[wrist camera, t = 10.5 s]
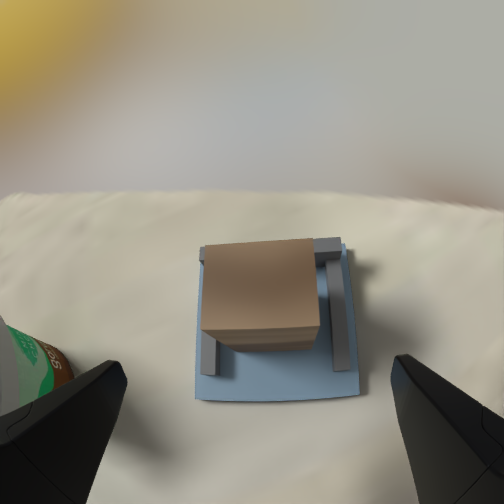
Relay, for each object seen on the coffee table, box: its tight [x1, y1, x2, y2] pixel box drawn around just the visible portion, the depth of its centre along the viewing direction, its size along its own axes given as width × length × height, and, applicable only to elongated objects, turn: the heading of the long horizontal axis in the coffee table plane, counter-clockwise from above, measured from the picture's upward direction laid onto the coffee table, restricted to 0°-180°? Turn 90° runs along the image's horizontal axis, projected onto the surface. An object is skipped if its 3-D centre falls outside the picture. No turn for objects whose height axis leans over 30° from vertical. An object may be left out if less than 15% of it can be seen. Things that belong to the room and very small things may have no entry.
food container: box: [0, 316, 74, 416], centre depth 17 cm, size 12×6×10 cm, turn 71°
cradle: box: [195, 237, 360, 401], centre depth 19 cm, size 11×11×3 cm
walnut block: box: [200, 238, 320, 352], centre depth 16 cm, size 4×5×8 cm
